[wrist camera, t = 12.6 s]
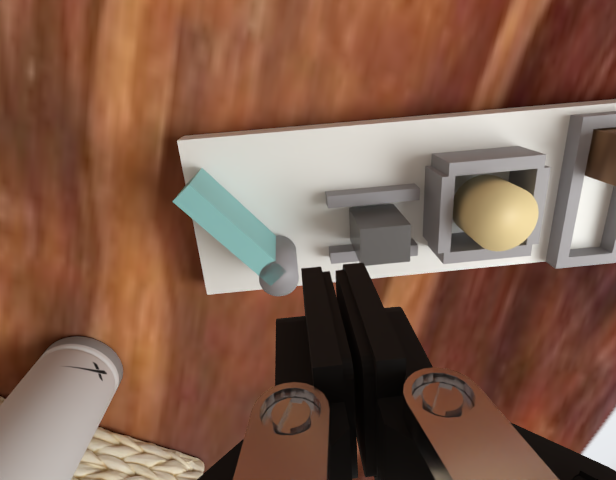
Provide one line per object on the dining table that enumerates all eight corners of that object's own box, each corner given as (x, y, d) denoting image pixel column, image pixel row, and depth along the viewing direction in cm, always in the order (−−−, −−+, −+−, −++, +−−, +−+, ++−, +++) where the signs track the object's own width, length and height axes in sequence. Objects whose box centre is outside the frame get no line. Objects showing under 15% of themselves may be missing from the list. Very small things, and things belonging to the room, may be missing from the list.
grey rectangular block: (393, 236, 28) (410, 261, 25) (350, 240, 28) (361, 266, 25) (393, 203, 27) (411, 224, 24) (348, 207, 27) (360, 229, 24)
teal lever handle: (303, 251, 28) (307, 278, 25) (278, 273, 29) (279, 302, 25) (207, 162, 25) (195, 177, 22) (182, 188, 26) (166, 207, 22)
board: (627, 241, 32) (706, 279, 26) (211, 281, 31) (195, 331, 25) (664, 94, 28) (768, 101, 22) (183, 135, 27) (156, 154, 21)
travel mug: (115, 329, 32) (-100, 671, 14) (130, 393, 35) (-36, 755, 16) (34, 332, 32) (-299, 689, 14) (54, 397, 34) (-202, 772, 16)
